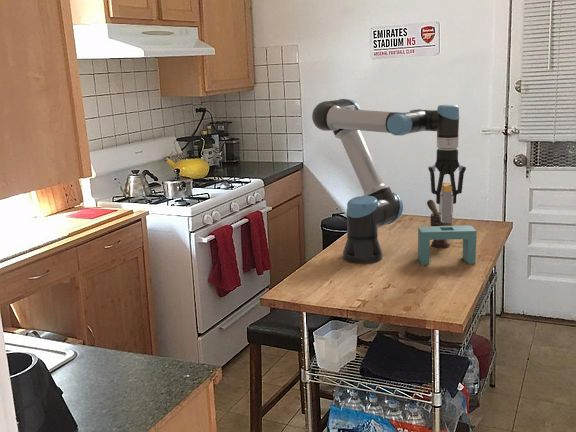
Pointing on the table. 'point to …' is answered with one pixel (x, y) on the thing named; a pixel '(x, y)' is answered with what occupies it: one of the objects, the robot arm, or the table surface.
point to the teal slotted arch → (445, 234)
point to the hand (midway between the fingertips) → (445, 212)
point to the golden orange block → (446, 202)
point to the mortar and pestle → (438, 224)
